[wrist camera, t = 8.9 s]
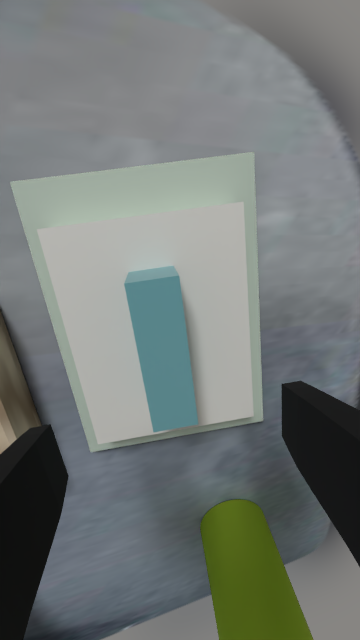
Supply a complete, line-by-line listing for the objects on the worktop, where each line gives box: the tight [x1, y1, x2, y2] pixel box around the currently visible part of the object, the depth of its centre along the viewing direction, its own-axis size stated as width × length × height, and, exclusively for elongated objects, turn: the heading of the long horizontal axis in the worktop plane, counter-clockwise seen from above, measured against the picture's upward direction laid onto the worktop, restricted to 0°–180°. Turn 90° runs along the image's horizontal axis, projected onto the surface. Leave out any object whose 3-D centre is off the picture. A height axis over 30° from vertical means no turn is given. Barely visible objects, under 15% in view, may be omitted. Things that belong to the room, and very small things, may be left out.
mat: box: [10, 152, 263, 452], centre depth 18 cm, size 18×13×1 cm
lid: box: [37, 202, 254, 444], centre depth 16 cm, size 13×10×5 cm
